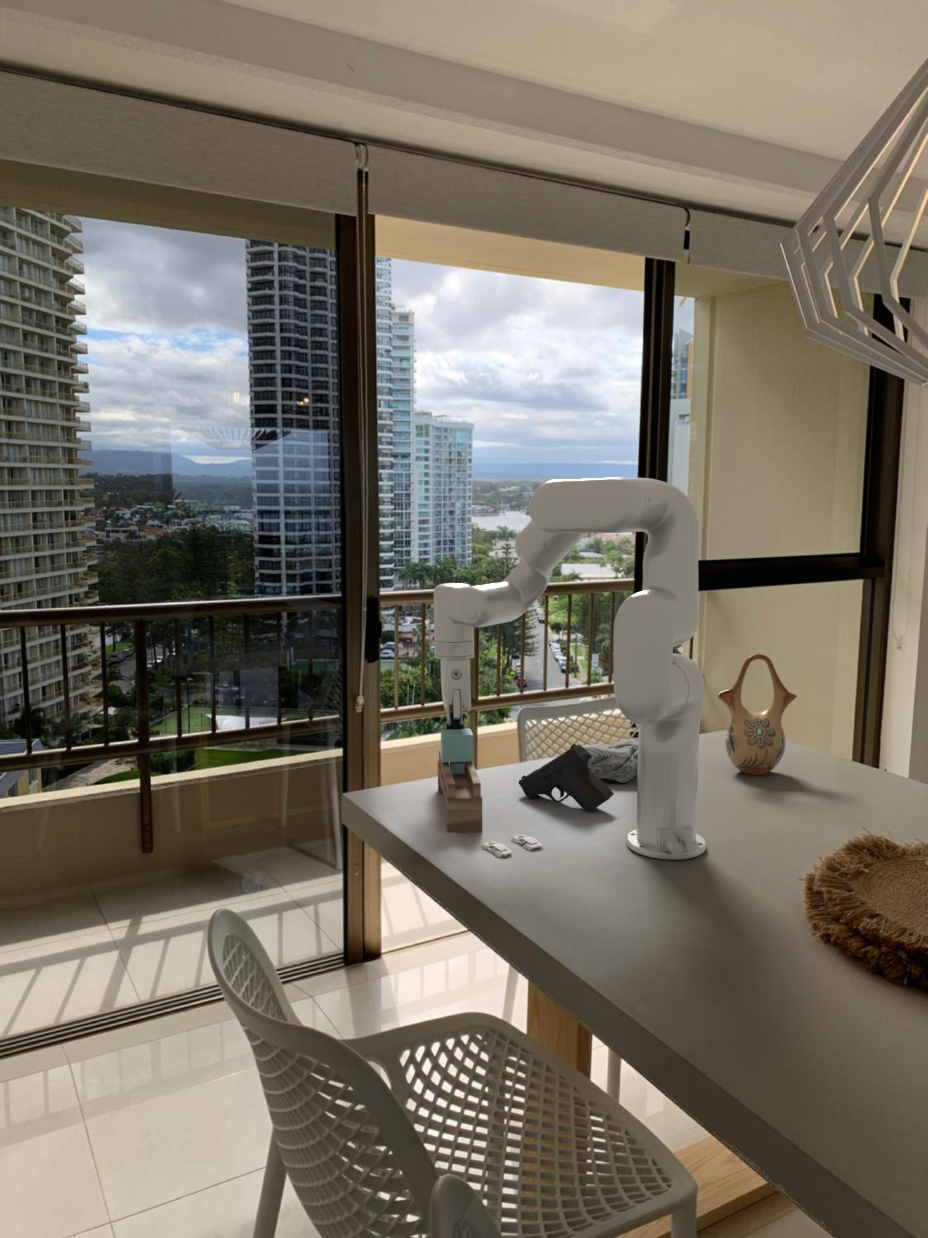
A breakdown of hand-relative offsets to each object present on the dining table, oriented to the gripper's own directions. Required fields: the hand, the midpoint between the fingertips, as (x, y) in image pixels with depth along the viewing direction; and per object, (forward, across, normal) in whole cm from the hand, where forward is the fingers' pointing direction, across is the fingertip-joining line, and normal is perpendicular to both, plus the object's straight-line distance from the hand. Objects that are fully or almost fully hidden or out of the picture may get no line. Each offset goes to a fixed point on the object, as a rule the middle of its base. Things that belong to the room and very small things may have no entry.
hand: (455, 744), depth 175 cm
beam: (+10, -7, 0) cm, 13 cm away
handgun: (+11, -6, -20) cm, 23 cm away
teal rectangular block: (+4, -5, 0) cm, 6 cm away
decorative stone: (+11, +10, -33) cm, 36 cm away
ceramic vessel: (+11, +9, -63) cm, 64 cm away
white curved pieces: (+11, -27, -7) cm, 30 cm away
